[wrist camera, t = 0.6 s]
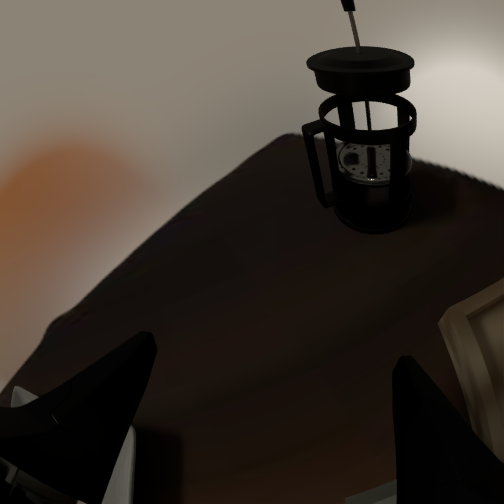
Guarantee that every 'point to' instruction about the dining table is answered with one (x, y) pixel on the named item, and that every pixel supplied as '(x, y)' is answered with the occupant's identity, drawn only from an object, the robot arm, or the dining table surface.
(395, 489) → the grey faceted block
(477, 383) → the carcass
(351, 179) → the french press
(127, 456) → the square plate
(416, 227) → the dining table surface
